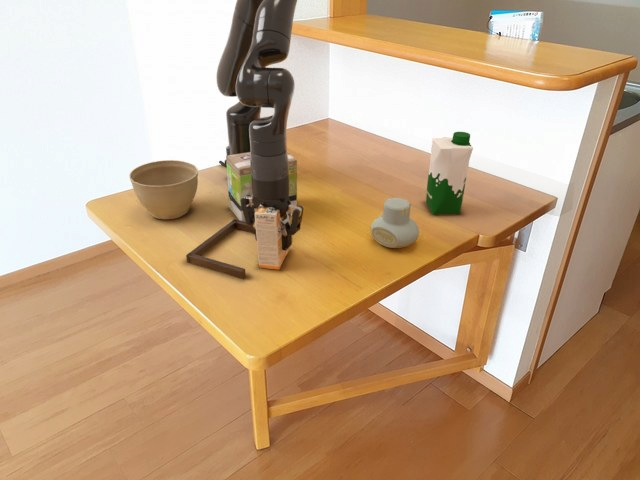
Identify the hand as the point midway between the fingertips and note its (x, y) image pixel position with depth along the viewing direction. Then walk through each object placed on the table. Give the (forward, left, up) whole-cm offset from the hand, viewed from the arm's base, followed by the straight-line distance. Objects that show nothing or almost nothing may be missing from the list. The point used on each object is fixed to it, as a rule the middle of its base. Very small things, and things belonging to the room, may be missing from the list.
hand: (273, 245), depth 110 cm
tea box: (-14, +19, -4) cm, 24 cm away
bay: (-9, 0, -4) cm, 9 cm away
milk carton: (+27, +41, -4) cm, 49 cm away
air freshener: (+21, +19, -4) cm, 28 cm away
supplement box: (0, 0, -4) cm, 4 cm away
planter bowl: (-35, +8, -4) cm, 36 cm away
